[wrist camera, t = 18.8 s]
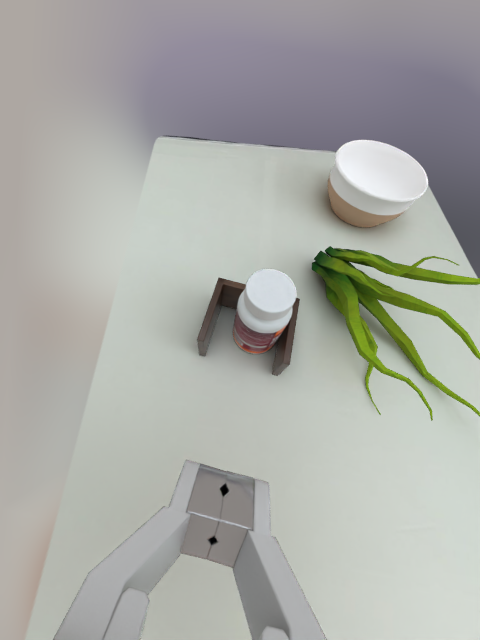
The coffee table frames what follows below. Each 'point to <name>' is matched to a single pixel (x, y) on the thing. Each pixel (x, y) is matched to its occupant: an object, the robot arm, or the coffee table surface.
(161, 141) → the coffee table surface
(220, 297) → the u-shaped stand
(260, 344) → the pill bottle
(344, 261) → the decorative plant
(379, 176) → the bowl
